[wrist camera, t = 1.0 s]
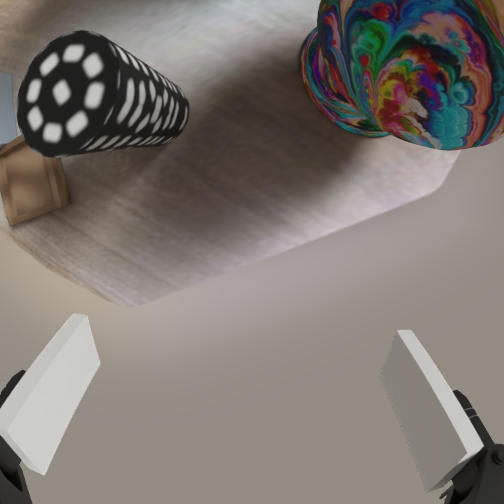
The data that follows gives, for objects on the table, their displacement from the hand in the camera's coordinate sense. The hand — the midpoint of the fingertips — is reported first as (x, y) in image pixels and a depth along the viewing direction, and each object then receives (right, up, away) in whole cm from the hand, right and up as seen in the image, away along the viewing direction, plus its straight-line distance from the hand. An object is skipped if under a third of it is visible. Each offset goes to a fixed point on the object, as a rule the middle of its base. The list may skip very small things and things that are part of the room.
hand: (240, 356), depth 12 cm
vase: (+14, +26, +19) cm, 35 cm away
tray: (-31, +15, +22) cm, 41 cm away
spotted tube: (-11, +21, +21) cm, 31 cm away
